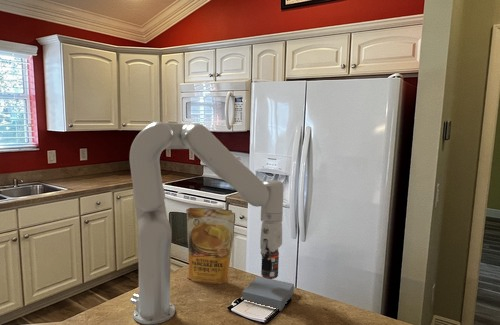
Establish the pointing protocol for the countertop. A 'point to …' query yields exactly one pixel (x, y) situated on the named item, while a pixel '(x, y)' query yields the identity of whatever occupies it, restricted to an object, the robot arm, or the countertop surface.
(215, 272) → the pancake mix bag
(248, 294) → the slate riser block
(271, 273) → the supplement bottle
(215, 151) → the robot arm
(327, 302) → the countertop surface
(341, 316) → the countertop surface
